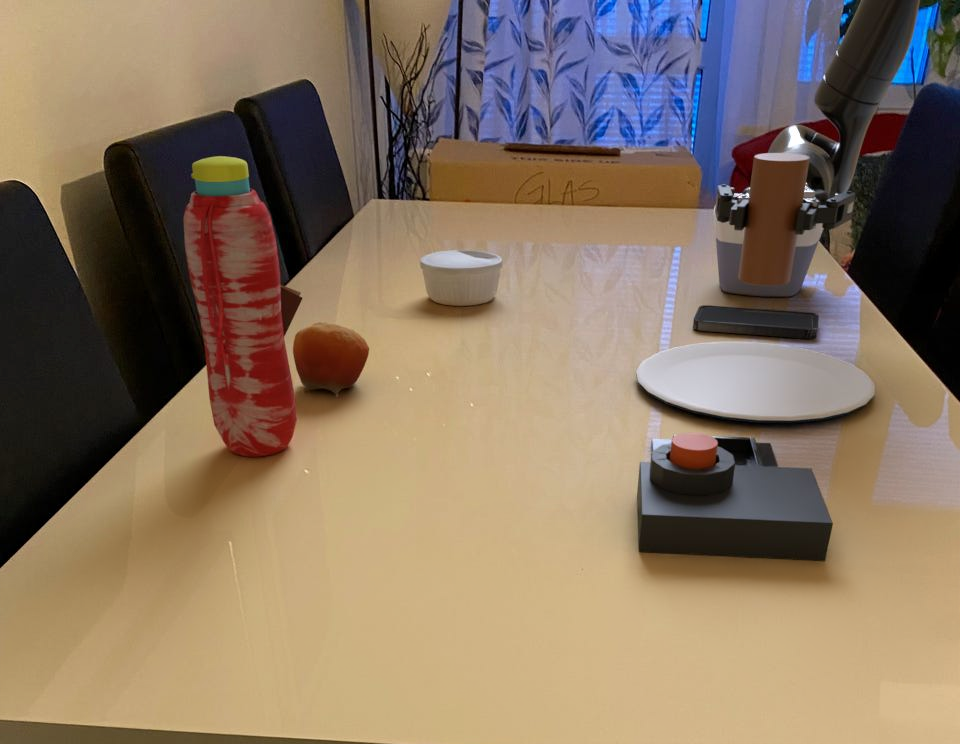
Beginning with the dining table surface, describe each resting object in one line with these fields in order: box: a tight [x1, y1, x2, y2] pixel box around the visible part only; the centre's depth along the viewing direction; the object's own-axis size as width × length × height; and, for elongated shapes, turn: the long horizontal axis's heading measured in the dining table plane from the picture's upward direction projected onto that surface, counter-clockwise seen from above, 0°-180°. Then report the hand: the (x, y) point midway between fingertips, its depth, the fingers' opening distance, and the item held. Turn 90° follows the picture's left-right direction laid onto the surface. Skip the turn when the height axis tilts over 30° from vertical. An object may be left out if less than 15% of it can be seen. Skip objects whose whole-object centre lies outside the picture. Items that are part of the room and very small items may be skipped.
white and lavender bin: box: [712, 204, 825, 298], centre depth 138 cm, size 15×15×11 cm
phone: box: [692, 304, 820, 340], centre depth 125 cm, size 8×1×15 cm
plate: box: [635, 341, 876, 424], centre depth 106 cm, size 25×25×1 cm
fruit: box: [292, 322, 370, 399], centre depth 106 cm, size 8×8×8 cm
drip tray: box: [650, 434, 779, 467], centre depth 88 cm, size 11×11×2 cm
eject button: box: [670, 432, 718, 469], centre depth 78 cm, size 4×4×2 cm
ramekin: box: [419, 249, 504, 307], centre depth 136 cm, size 11×11×5 cm
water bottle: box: [183, 155, 303, 458], centre depth 88 cm, size 12×8×25 cm, turn 161°
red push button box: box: [636, 443, 834, 562], centre depth 78 cm, size 10×14×5 cm
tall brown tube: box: [738, 152, 810, 286], centre depth 95 cm, size 5×5×11 cm
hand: (769, 220), depth 92 cm, fingers closed on tall brown tube, 5 cm apart
